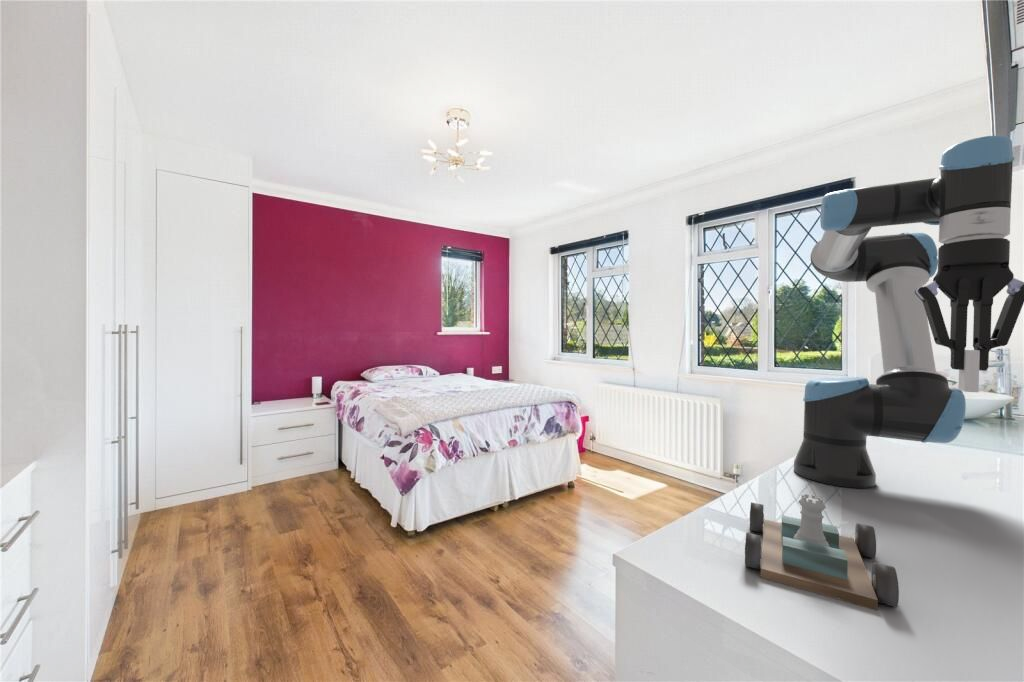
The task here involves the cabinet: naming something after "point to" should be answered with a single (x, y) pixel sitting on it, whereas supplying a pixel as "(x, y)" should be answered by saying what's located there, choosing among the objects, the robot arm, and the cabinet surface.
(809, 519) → the rook chess piece
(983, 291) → the robot arm
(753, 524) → the chassis
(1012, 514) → the cabinet surface
